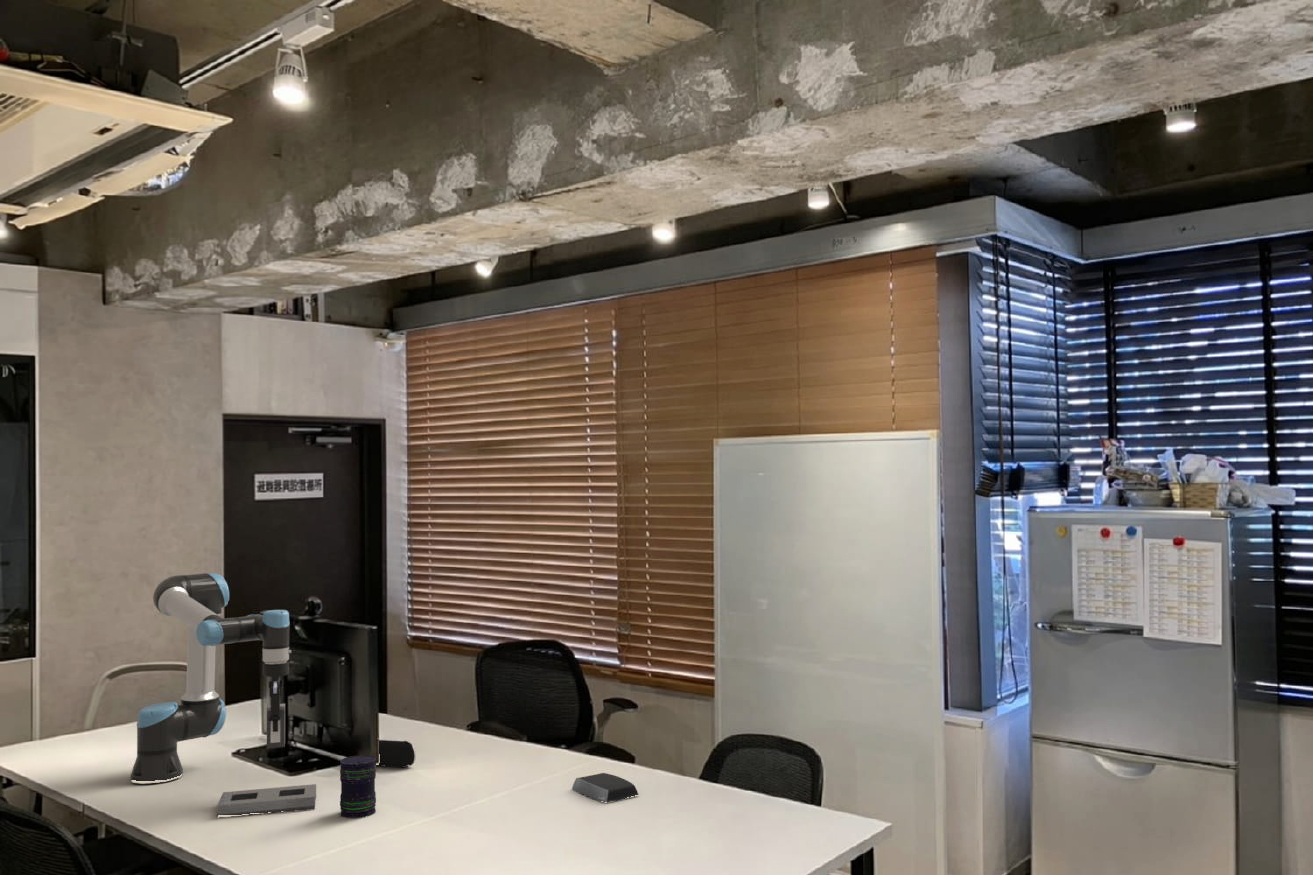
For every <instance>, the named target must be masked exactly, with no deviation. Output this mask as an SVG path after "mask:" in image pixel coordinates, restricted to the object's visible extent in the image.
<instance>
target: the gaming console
mask: <svg viewBox="0 0 1313 875" xmlns="http://www.w3.org/2000/svg"><path fill="white" fill-rule="evenodd" d="M378 739H379V754H380V763H379V766H378V767H382V766H381V765H385V766H384V767H388V766H409V767H411V766H413V765H414V763H416V762H415V761H416V759H417V750H416V748H415V745H414V744H413V743H412V742H410V741H407V740H405V739H394V738H393V739H392V738H391V739H389V738H378Z"/></svg>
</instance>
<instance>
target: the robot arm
mask: <svg viewBox="0 0 1313 875" xmlns="http://www.w3.org/2000/svg"><path fill="white" fill-rule="evenodd" d="M152 601H153V605H154V606H155V609H157V610H158V611H159V612H160V613H161V614H163V615H165V616H167V617H173V618H175V619H176V620H178V622H179V621H180V622H181V623H182V624H183V625H185V626H187V653H186V654H187V656H186V657H187V658H186V662H187V663H186V689H185V693H184V694H183V695H182V696H181V697H180V704H178V703H177V702H176V701H165V702H158V703H153V704H150V705H147V706H144V707H143V708H142V709H140V710H139V711H138V714H137V723H136V732H137V733H136V735H137V736H136V750H137V751H136V759H135V762H134V764H133V768H132V770H131V772H130V781H131V780H136V781H155V780H167V779H171V778H174V777H177V776H180V775H181V774H182V773H183V774H184V772H183V771H184V768H183V766H182V763H181V760H180V757H179V754H178V742H184V741H185V742H186V741H190V740H194V739H201V738H207V737H209V736H215V735H217V734H218V733H219V732H220V731H221V730H222V729H223V728H224V725H225V723H226V717H227V708H226V704H225V701H224V700H223V699H221V698H220V694H219V693H217V691H216V690H215V682H216V681H215V680H216V675H215V674H216V646H221V645H225V644H226V645H228V644H234V643H243V642H244V643H245V642H251V641H252V642H253V641H262V662H263V664H262V676H264V677H265V678H266V677H267V678H268V677H270V678H271V680H269V682H268V689H269V697H270V705H271V717H270V719H268V721H271V743H276V742H280V704H282V702H281V701H282V695H283V687H284V679H282V680H281V677H284V676H289V674H290V662H289V660H290V654H292V650H291V649H290V627H291V626H290V625H291V624H290V612H289V611H288V610H287V609H271V610H265V611H264V612H263V614H260V613H259V614H258V613H256V614H254V613H253V614H248V615H245V616H239V617H238V616H237V617H227V618H223V617H222V616H221V615H222V609H223V608H225V607H226V606H228V604H229V603H228V602H229V601H230V589H229V586H228V582H227V581H226V580H225V578H224V577H223V575H220V574H219V573H211V572H210V573H208V572H207V573H206V572H204V573H195V574H181V575H179V574H178V575H173V576H169V577H167V578H165V579H164V580H162V581H161V582H160V583H158V585H157V586H156V587H155V590H154V591H153V596H152ZM273 715H274V716H273Z"/></svg>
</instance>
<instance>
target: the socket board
mask: <svg viewBox="0 0 1313 875" xmlns="http://www.w3.org/2000/svg"><path fill="white" fill-rule="evenodd" d="M316 799H317V784H316V783H314V784H312V783H311V784H302V785H291V786H280V787H268V788H256V789H245V790H236V791H235V790H233V791H223V792H222V794H221V796H220V798H219V801H218V803H217V805H216V809H217V810H216V817H217V816H218V815H242V814H250V813H268V812H280V813H282V812H281V811H290V812H296V811H295V810H301V811H308V810H307V809H312V810H315V808H316V802H317V801H316ZM315 801H316V802H315Z"/></svg>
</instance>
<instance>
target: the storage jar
mask: <svg viewBox="0 0 1313 875" xmlns="http://www.w3.org/2000/svg"><path fill="white" fill-rule="evenodd" d="M375 761H376V758H375V757H374V756H368V755H363V754H360V755H352V756H351V755H350V756H348V757H344V758H342V759H340V762H339V763H340V770H339V776H340V777H339V780H340V782H341V783H340V786H341V788H340V797H339V798H340V801H339V808H340V814H339V815H340V817H341V818H345V819H362V817H363V818H366V816H367V817H370V816H373V815H374V814H375V813H376V805H377V804H376V802H377V798H376V795H377V794H376V789H375V788H376V786H375V785H376V784H375V783H376V778H377V777H376V775H377V774H376V771H377V766H376V763H375Z"/></svg>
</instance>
